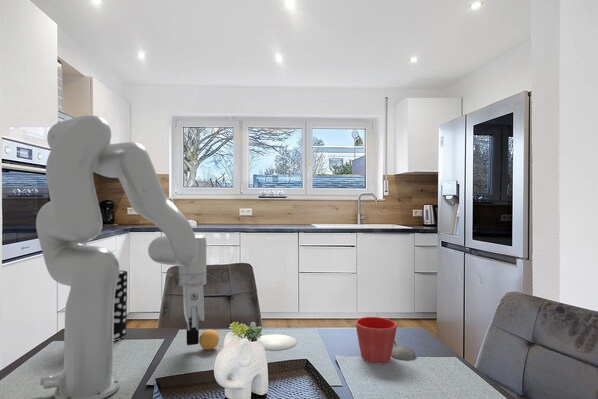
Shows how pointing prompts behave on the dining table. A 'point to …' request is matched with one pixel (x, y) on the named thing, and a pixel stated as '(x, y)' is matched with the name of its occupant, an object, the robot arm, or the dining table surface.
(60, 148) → the robot arm
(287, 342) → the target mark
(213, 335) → the ball
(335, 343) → the dining table surface
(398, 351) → the soupspoon
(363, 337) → the flower pot
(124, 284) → the white-spotted black cylinder
